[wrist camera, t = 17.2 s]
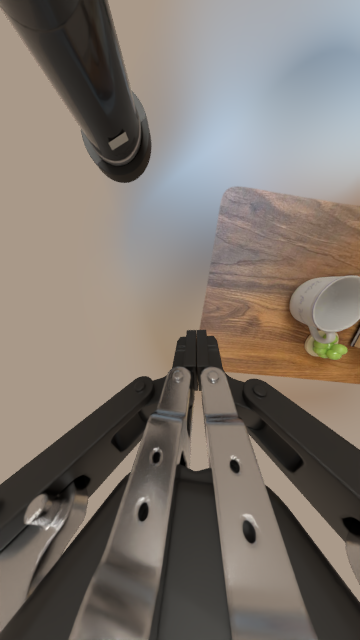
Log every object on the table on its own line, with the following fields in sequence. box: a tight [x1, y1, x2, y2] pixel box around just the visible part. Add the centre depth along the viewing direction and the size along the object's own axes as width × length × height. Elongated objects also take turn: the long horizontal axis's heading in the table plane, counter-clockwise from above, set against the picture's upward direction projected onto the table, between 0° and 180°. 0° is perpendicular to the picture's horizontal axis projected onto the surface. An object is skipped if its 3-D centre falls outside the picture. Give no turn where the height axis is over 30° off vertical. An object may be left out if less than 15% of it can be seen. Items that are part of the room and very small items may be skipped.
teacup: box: [289, 276, 360, 344], centre depth 28 cm, size 14×11×8 cm
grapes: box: [305, 329, 348, 360], centre depth 33 cm, size 8×8×5 cm
